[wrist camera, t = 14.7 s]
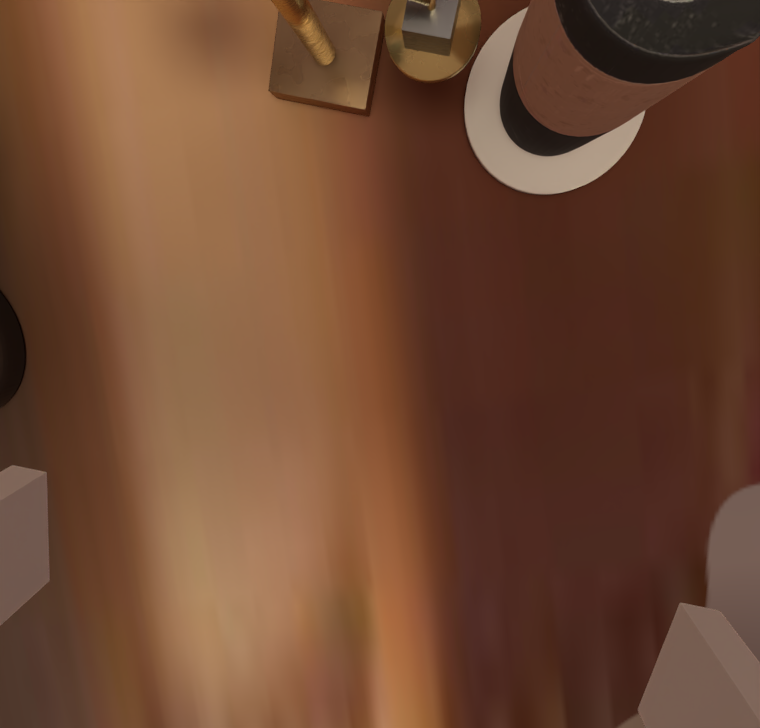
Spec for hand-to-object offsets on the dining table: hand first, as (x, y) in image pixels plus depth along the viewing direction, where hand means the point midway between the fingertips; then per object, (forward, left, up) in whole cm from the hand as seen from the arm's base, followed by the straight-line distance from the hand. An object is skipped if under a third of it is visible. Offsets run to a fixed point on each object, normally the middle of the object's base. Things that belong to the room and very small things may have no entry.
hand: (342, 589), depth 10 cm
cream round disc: (+6, +17, -31) cm, 36 cm away
